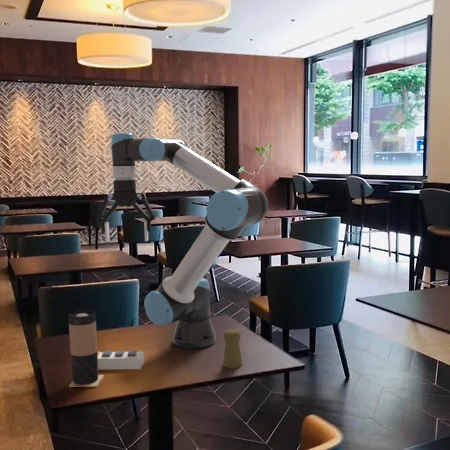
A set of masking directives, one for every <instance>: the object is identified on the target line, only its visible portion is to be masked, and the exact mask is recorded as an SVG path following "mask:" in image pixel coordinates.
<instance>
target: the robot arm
mask: <svg viewBox="0 0 450 450" xmlns="http://www.w3.org/2000/svg"><path fill="white" fill-rule="evenodd" d="M134 137H135V135H134V133H129V132H126V133H125V132H122V133H121V132H119V133H113V134H112V136H111V146H110V147H111V161H112V178H113V179H114V180H113V183H112V184H113V185H112V187H113V193H111V194H110V193H105V194H104V197H103V198H104V199H103V202H102V205H101V207H100V209H99V211H98V214H97V216H96V218H95V221H96V222H100V223H101V232H102V233H104V238H105V243H108V242H111V241H110V224H109V221H108V220H109V218H110V217H111V216H112V215H113V213H114V212H115V211H116V209H117V208H118V207H122V208H123V207H127V208H128V207H133V208H134V209H135V210H136V211H137V213H139V214H140V216H141V217H142V218H143V219H144V222H143V223H144V224H143V225H144V228H143V229H144V241H145V242H148V241H149V232H151V230H152V221H154V220H156V219H157V216H156V215H155V212H154V210H153V209H152V207H151V206H150V203H149V202H148V200H147V197H146V196H147V195H146V193H145V192H142V193H137V183H136V182H137V181H136V180H135V178H136V162H150V163H151V162H164V161H165V162H168V163H169V164H171V165H173V166H174V167H176V168H178V169H179V170H181V171H182V172H184V173H185V174H187V175H188V176H190V177H191V178H193V179H195V180H196V181H197V182H199V183H200V184H202V185H204V186H205V187H207V188H208V189H209V190H211V191H213V192H214V193H213V195H211V196H210V198H209V199H208V201H207V204H206V208H205V210H206V214H205V217H204V222H205V226H204V227H203V229H202V230H201V232H200V234H199V235H198V236H197V238H196V239H195V241H194V242H193V243H192V245H191V247H190V248H189V250H188V251H187V253H186V254H185V256H184V257H183V259H182V260H181V261H180V264H179V265H178V266H177V268H176V269H175V271H174V272H173V274H172V275H171V276H167V277H165V278H164V279H163V280H162V282H161V283H160V284H159V286H158V288H157V289H156V290H152V291H150V292H149V293H147V295H146V296H145V298H144V304H143V305H144V309H145V313H146V316H147V317H148V319H149V320H150V321H151V322H152V324H154V325H157V326H161V327H162V326H167V325H171V324H172V323H175V322H176V324H175V327H174V328H175V329H174V331H173V335H172V343H173V345H175V346H176V347H179V348H184V349H201V348H206V347H210V346H212V345H214V344H215V343H216V342H217V339H216V337H217V335H216V332H215V330H214V326H213V324H212V321H211V299H210V297H211V295H210V294H211V293H210V291H211V289H210V282H209V280H208V279H207V278H205V276H206V275H207V273H208V272H209V270H210V269H211V267H212V266H213V264H214V263H215V262H216V260H217V259H218V257H219V255H220V254H222V252H223V250H224V249H225V247H227V245H228V243H229V242H231V241H235V240H236V241H237V239H238V238H239V236H240V235H241V233H242V232H243V231H244V229H245V228H246V227H247V226H252V225H256V224H258V223H260V222H261V221H263V220H264V218H265V217H266V216H267V214H268V211H269V201H268V198H267V195H266V194H265V192H264V191H263V190H262V189H260V188H259V187H257V186H256V185H254V184H252V183H251V182H249V181H248V180H245V179H242V180H240V179H238V178H237V177H235V176H234V175H231V174H230V173H229V172H227V171H226V170H224V169H222V168H221V167H219V166H217V165H215V164H213V163H212V162H211V161H210V160H207V159H206V158H204V157H202V156H201V155H199V154H198V153H196V152H194V151H193V150H191V149H190V148H188V147H187V144H186V143H185V142H184V140H181V139H179V138H178V139H177V138H159V137H150V136H149V137H144V138H142V137H141V138H134ZM112 199H113V200H114V201H115V202H114V203H113V205H112V206H111V207H110V209H109V210H108V211H107V212H106V214H105V215H104V213H105V211H106V209H107V207H108V205H109V202H110V201H111V200H112ZM137 199H139V200H140V201H142V204H143V206H144V207H145V210H146V211H147V213H146V212H145V211H144V209H142V207H141V206H140V205H139V204H138V202H136V201H137Z"/></svg>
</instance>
